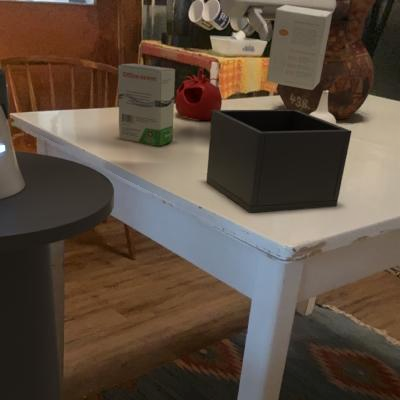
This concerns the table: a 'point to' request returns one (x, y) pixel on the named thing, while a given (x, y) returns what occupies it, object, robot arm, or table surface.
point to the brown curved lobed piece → (339, 65)
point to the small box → (298, 46)
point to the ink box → (146, 103)
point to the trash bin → (276, 159)
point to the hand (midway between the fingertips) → (289, 39)
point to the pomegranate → (198, 98)
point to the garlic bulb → (324, 109)
